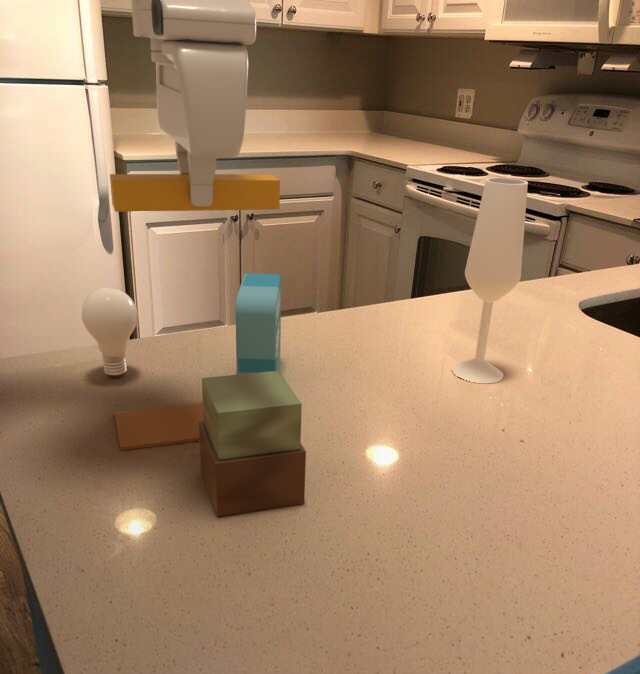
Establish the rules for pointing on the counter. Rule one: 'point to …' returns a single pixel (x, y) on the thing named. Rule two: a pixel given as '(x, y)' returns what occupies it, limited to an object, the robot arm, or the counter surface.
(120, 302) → the lightbulb
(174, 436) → the cork mat
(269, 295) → the data package
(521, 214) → the champagne flute
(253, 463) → the tower
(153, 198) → the bar
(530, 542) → the counter surface
